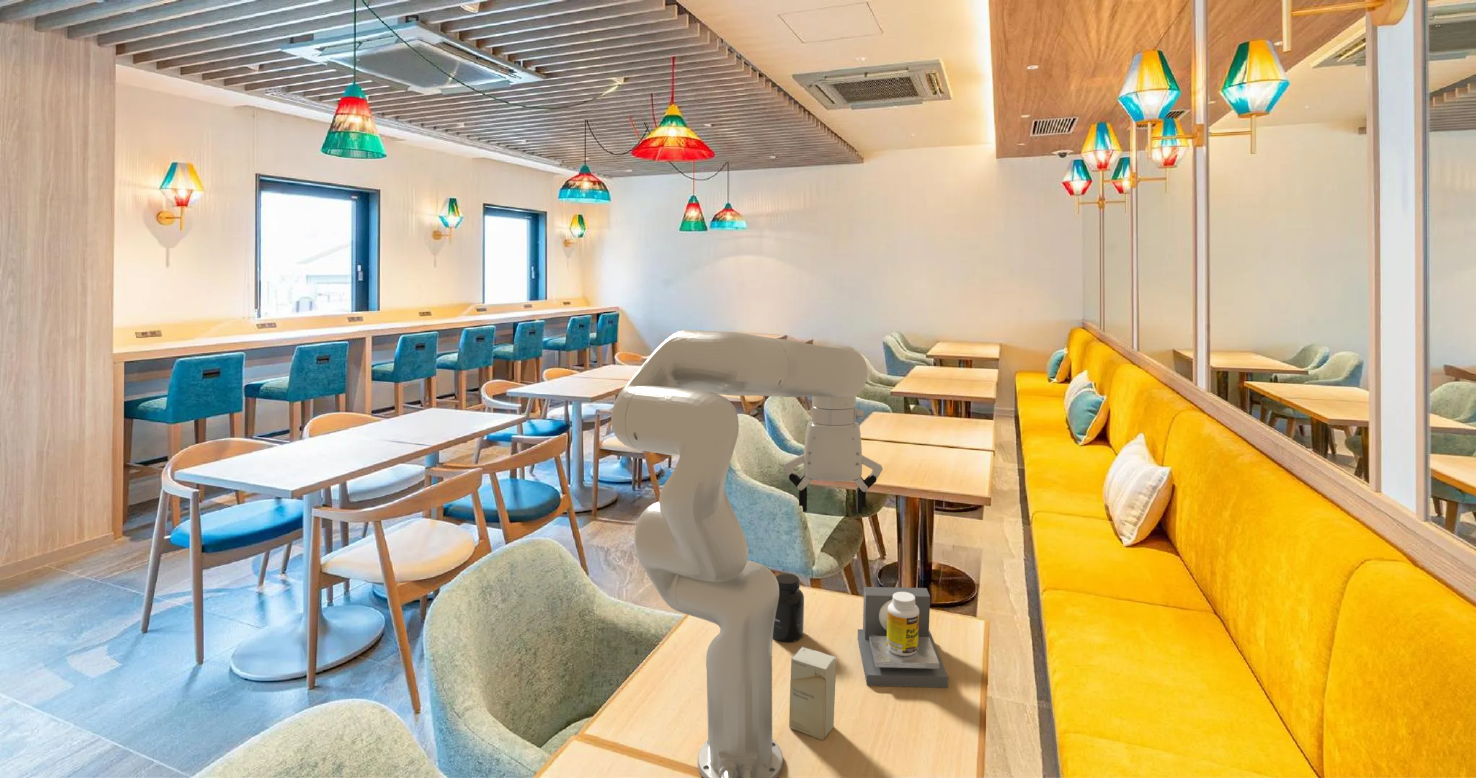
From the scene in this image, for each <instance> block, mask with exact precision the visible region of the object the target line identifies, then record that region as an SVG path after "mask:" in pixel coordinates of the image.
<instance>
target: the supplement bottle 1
mask: <svg viewBox="0 0 1476 778" xmlns="http://www.w3.org/2000/svg"><path fill="white" fill-rule="evenodd" d="M775 577H776V579H777V581H778V584H779V599H778V605H777V611H776V616H775V622H774V629H773V639H774V640H775V641H778V642H781V643H793V642H797V641H799V640H800V639H801V638H802V637H803V635H804V623H805V622H804V621H805V619H804V618H805V617H804V615H805V614H804V613H805V612H804V610H805V596H804V593H803V590H801V589H800V578H799V576H797V575H796V574H791V573H781V574H778V575H775Z"/></svg>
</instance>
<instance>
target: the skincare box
mask: <svg viewBox="0 0 1476 778" xmlns="http://www.w3.org/2000/svg"><path fill="white" fill-rule="evenodd" d="M790 659H791V660H790V680H789V681H790V685H789V686H790V687H789V689H790V690H789V713H788V714H789V715H788V716H789V718H788V719H789V721H788V727H789V728H790V729H792V730H795V731H797V732H800V733H802V734H806V735H808V736H810V737H813V738H815V739H818V740H820V741H821V740H822V741H823V740H824V739H826V738H827V735H828V734H829V733H831V731H832V729H833V728H834V726H835V725H834V724H835V699H836V698H835V697H836V675H837V673H836V671H837V656H835V655H831V654H828V653H825V652H822V651H818V650H814V649H812V648H809V647H805V646H801V647H800V648H799V649H798V650H797V651H796V652H795V653H794V654H793V655H792V657H791V658H790Z"/></svg>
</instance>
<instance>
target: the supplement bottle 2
mask: <svg viewBox="0 0 1476 778" xmlns="http://www.w3.org/2000/svg"><path fill="white" fill-rule="evenodd" d="M918 631H919V608H918V607H917V606H916V605H915V596H914V595H913V594H911V593H908V592H896V593H894V594H893V599H892V603H890V604H889V605H888V613H887V648H888V650H889V651H890V652H892V653H894V654H896V655H900V656H910V655H913V654H914V653H916V651H917V649H918Z"/></svg>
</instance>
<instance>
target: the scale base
mask: <svg viewBox="0 0 1476 778" xmlns="http://www.w3.org/2000/svg"><path fill="white" fill-rule="evenodd" d="M896 592H908V593H911V594H913V595H914V596H915V605H916V606H917V607H918V608H919V631H918V637H929V638H930V641H931V643H932V646H933V648H934V651H935V653H936V656H937V659H938V661H939V669H931V668H893V667H875V663H874V658H873V654H872V649H871V645H870V641H869V639H870V636H887V613H888V605H889V604H890V603H892V599H893V594H894V593H896ZM930 607H931V595H930V593H929V591H928V588H927V587H895V586H894V587H890V586H889V587H888V586H887V587H886V586H885V587H884V586H864V587H863V613H862V614H863V615H862V616H863V617H862V628H861V629H859V628H858V629H857V643H858V648H859V653H860V657H861V662H862V663H861V664H862V667H863V673H864V678H865V683H866V686H875V687H876V686H877V687H910V688H911V687H913V688H947V689H948V688H949V676H948V673H947V670H946V667H945V665H944V663H943V660H942V658H941V655H940V652H939V651H938V647H937V646H936V643H935V641H934V638H933V636H932V632H931V630H930V613H931V610H930V609H931V608H930Z"/></svg>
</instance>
